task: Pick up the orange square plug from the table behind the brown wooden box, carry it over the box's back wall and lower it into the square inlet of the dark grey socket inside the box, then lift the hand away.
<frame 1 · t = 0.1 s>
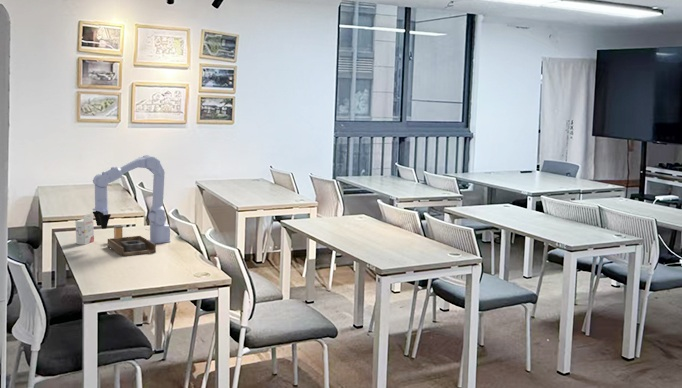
hand: (101, 227, 332), 10 cm above the table, fingers open, 7 cm apart
brown wooden box: (131, 249, 330), on the table
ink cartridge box: (85, 243, 342), on the table
plug: (118, 241, 347), on the table
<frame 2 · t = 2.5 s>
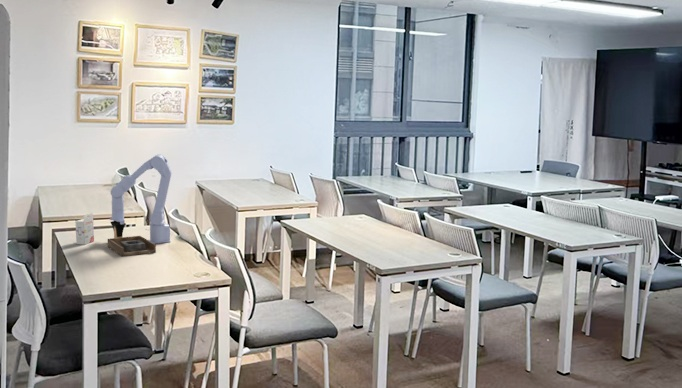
hand: (118, 236, 346), 3 cm above the table, fingers closed on plug, 3 cm apart
plug: (118, 241, 347), on the table, touching gripper
everything else where it was.
when the fingers open (5 cm above the table, at t = 8.6 s): plug drops 1 cm, resting on brown wooden box.
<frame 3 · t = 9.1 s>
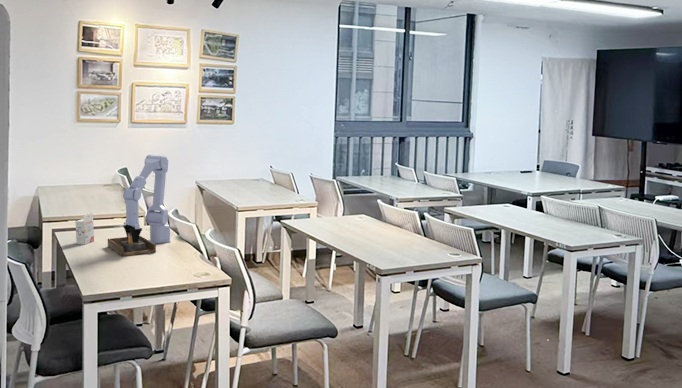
hand: (132, 241, 328), 5 cm above the table, fingers open, 7 cm apart
plug: (132, 249, 329), resting on brown wooden box
everything else where it was.
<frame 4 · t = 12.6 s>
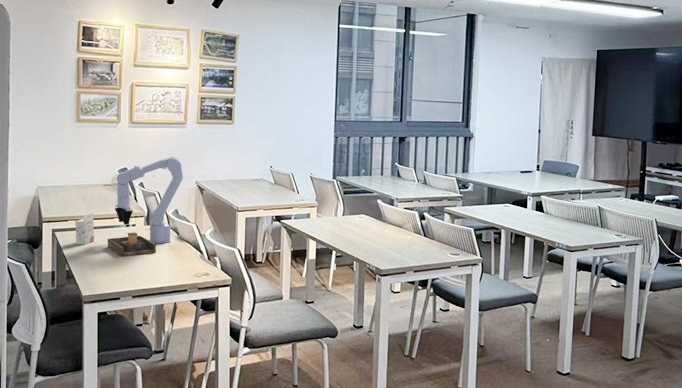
hand: (123, 223, 344), 10 cm above the table, fingers open, 7 cm apart
nothing on the table moved.
at the end: plug 0.1 cm from the target spot on the brown wooden box, point 0.4 cm above the brown wooden box's base; plug tilted 0°; the gripper is holding nothing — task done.
